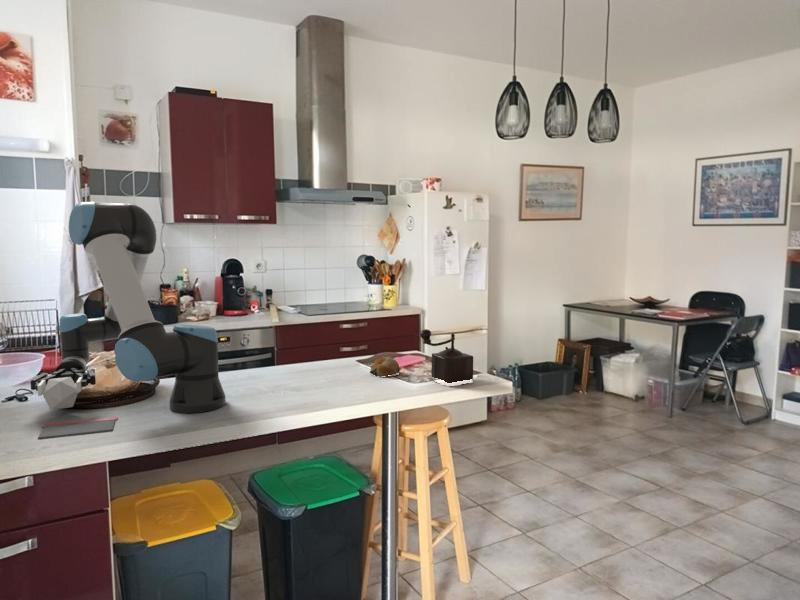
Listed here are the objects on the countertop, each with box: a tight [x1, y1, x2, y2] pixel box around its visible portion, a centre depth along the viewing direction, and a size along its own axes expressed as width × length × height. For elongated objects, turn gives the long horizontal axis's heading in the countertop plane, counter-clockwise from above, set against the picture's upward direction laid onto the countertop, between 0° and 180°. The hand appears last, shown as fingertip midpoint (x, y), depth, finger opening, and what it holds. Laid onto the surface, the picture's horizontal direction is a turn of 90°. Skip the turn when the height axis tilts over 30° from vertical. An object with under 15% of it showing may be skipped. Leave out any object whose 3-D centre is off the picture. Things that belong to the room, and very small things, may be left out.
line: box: [42, 416, 119, 428], centre depth 151 cm, size 17×2×1 cm, turn 112°
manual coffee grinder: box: [419, 328, 474, 383], centre depth 193 cm, size 16×11×18 cm
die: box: [42, 377, 79, 410], centre depth 155 cm, size 8×9×10 cm
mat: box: [37, 420, 116, 440], centre depth 145 cm, size 16×8×1 cm, turn 112°
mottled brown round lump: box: [369, 356, 400, 377], centre depth 204 cm, size 10×10×8 cm
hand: (58, 389), depth 151 cm, fingers closed on die, 8 cm apart
